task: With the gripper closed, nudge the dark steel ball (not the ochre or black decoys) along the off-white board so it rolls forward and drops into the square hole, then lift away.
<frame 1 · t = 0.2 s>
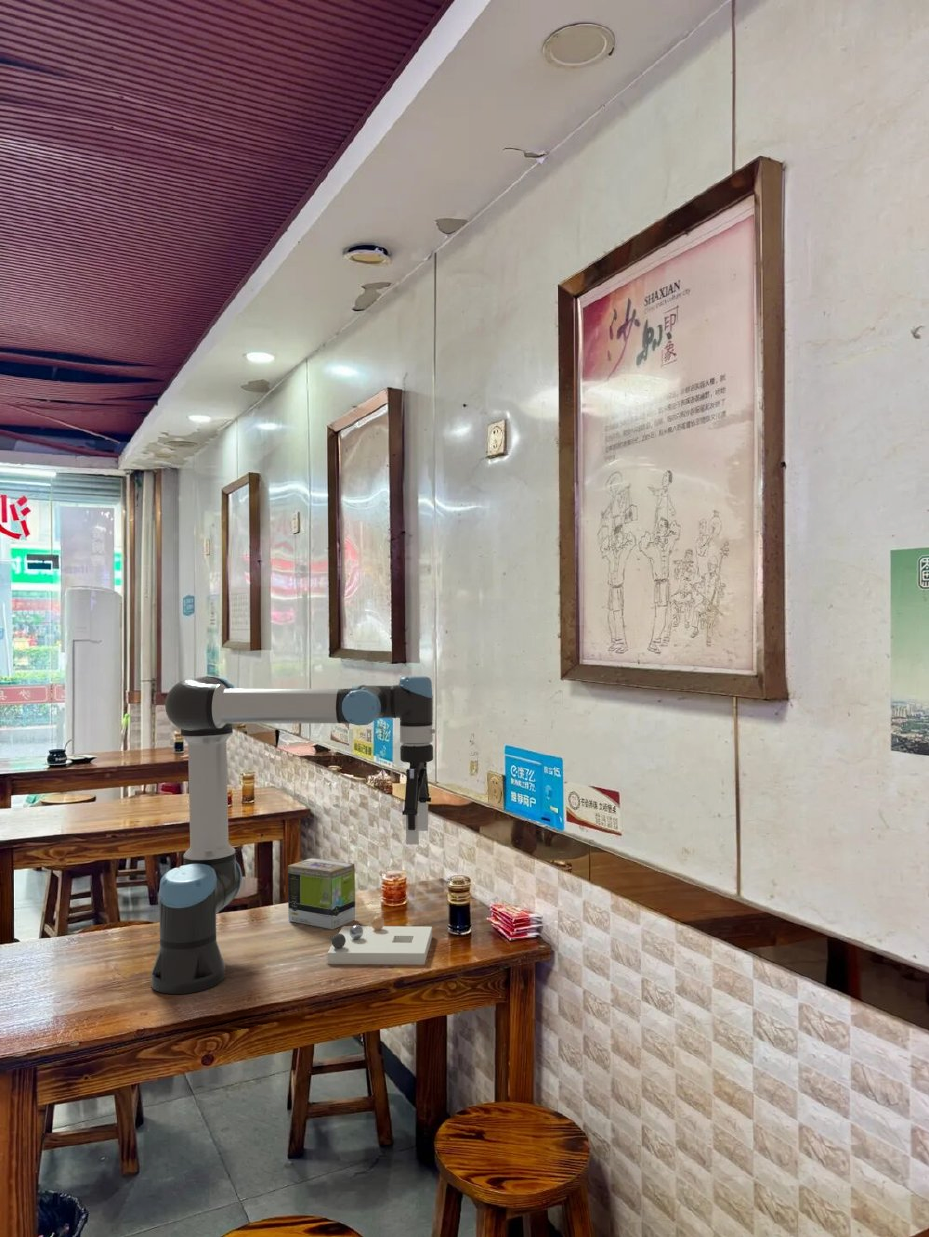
hand: (417, 837, 197), 28 cm above the table, fingers open, 13 cm apart
steel ball: (356, 932, 203), point 4 cm above the table, touching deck
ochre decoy: (377, 923, 209), point 4 cm above the table, touching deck
tea box: (321, 921, 224), on the table
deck: (381, 949, 202), on the table
black decoy: (338, 940, 197), point 4 cm above the table, touching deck
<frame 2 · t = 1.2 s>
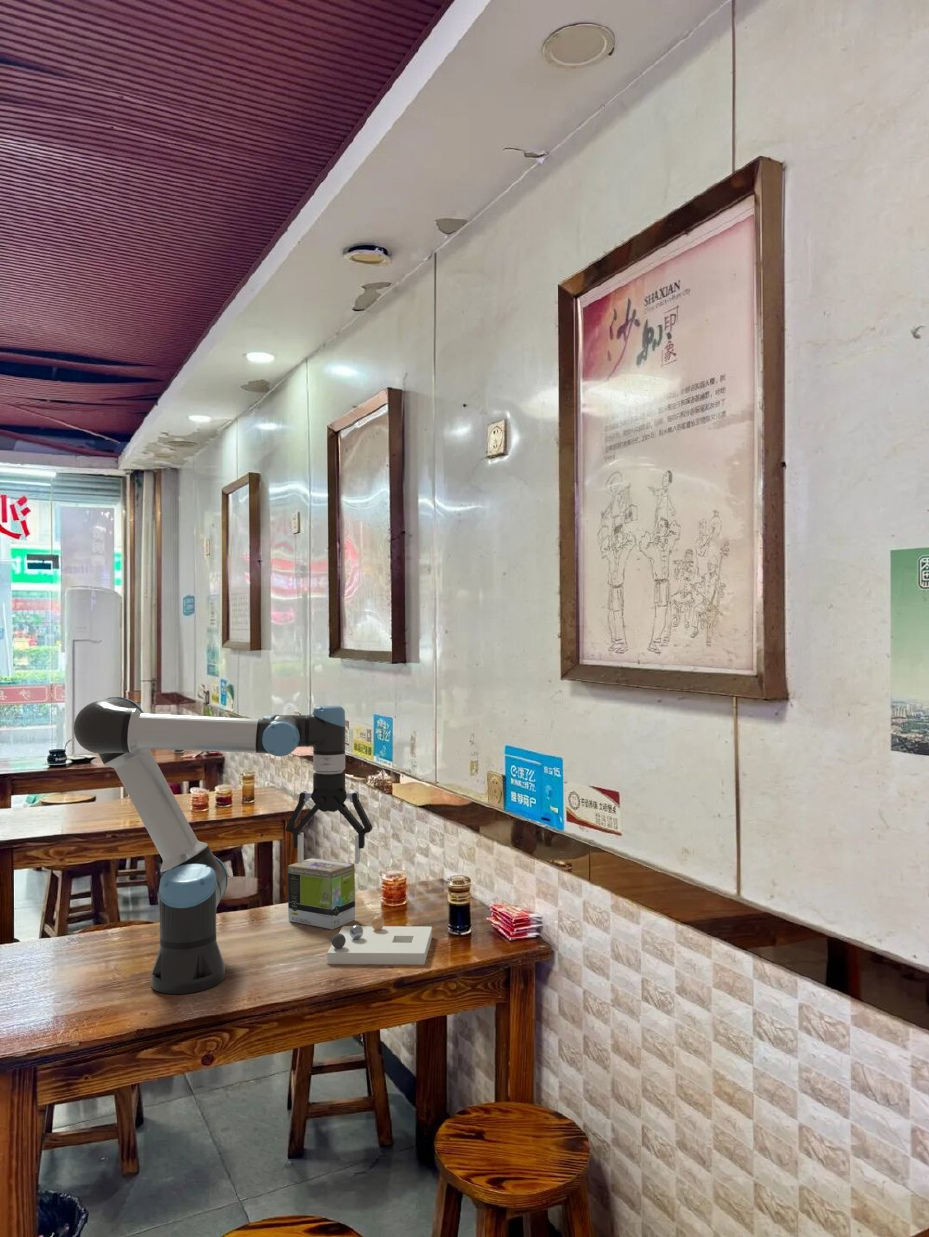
hand: (329, 862, 203), 21 cm above the table, fingers open, 13 cm apart
nothing on the table moved.
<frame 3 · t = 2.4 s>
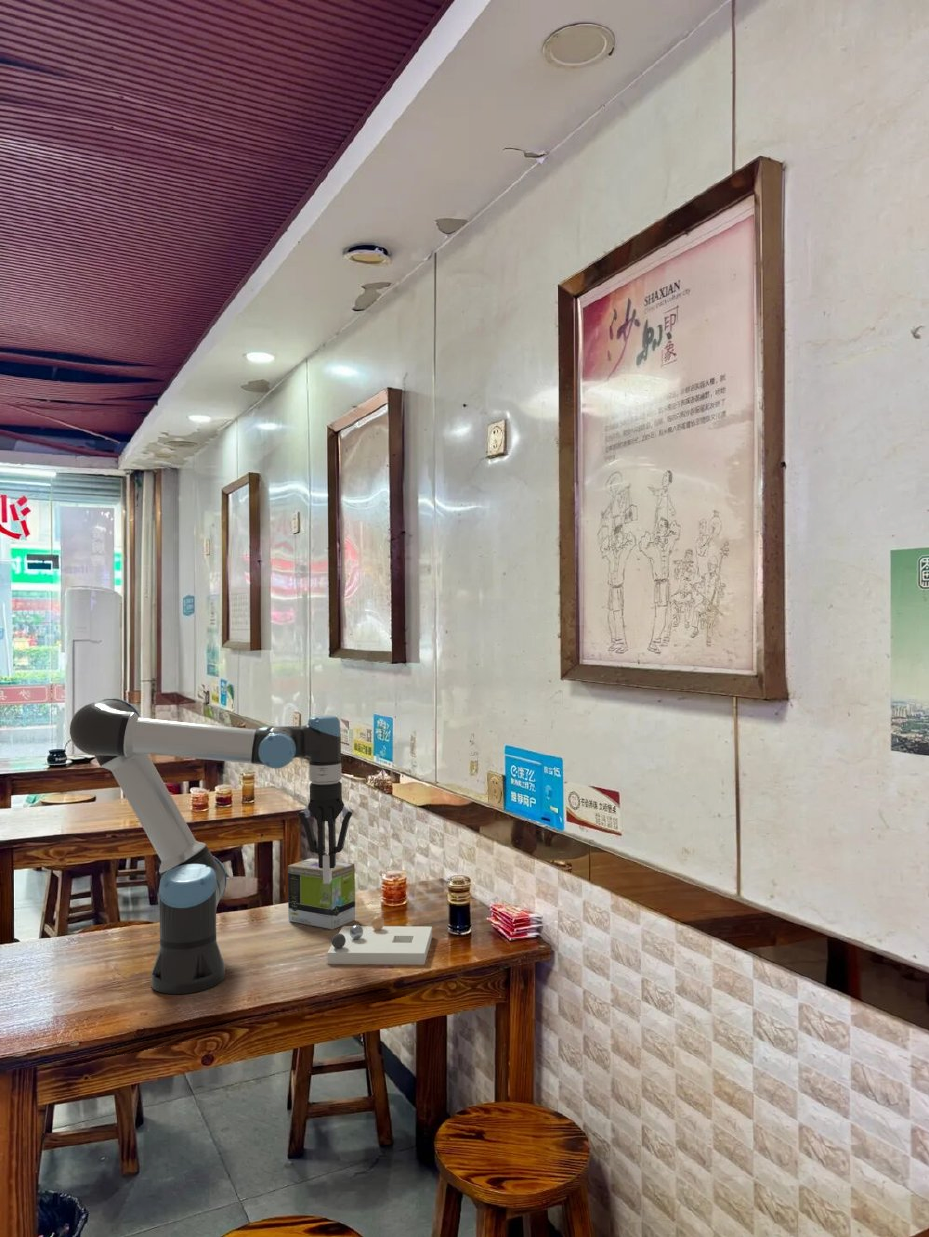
hand: (327, 881, 203), 16 cm above the table, fingers closed
nothing on the table moved.
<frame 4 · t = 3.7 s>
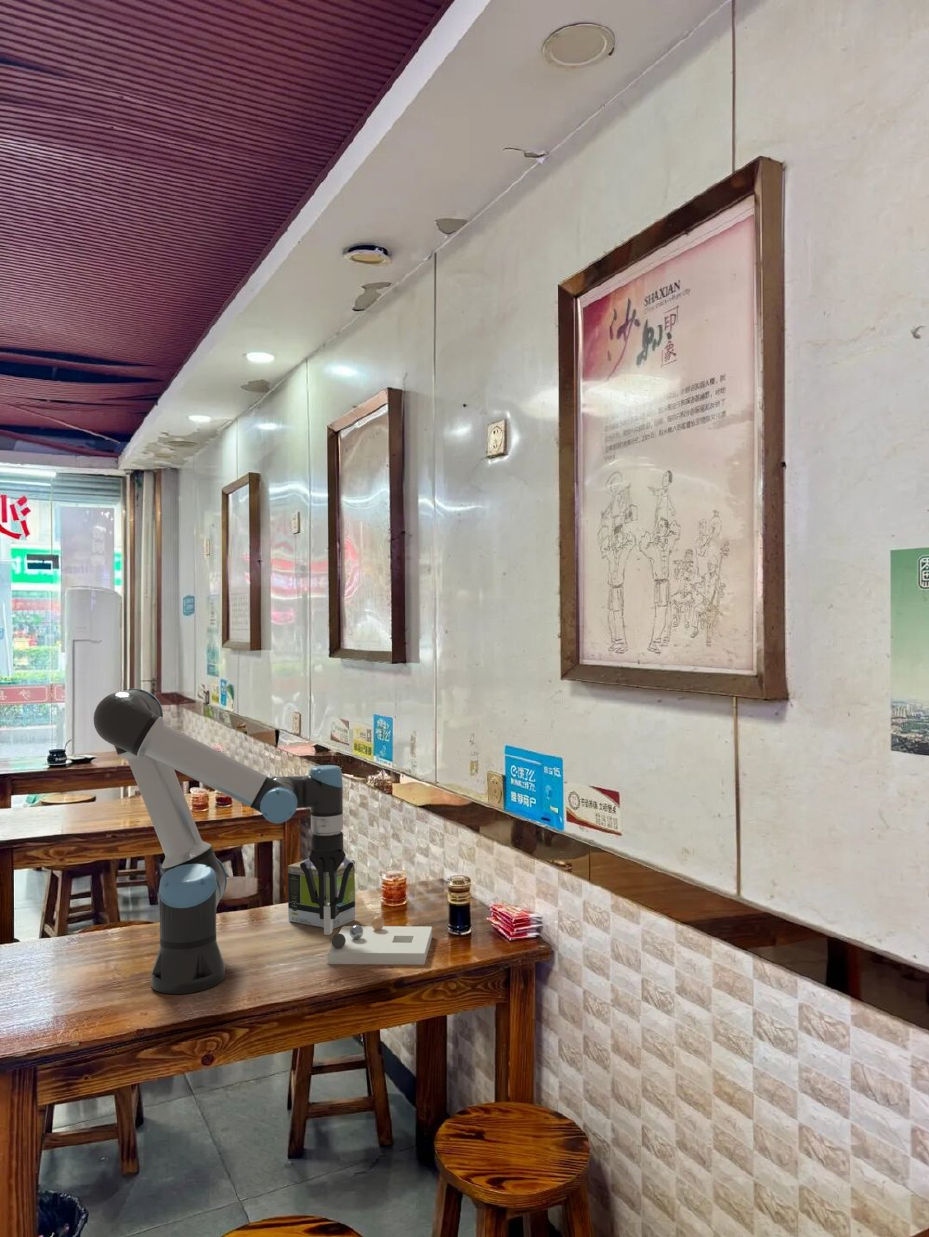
hand: (328, 932, 203), 4 cm above the table, fingers closed
nothing on the table moved.
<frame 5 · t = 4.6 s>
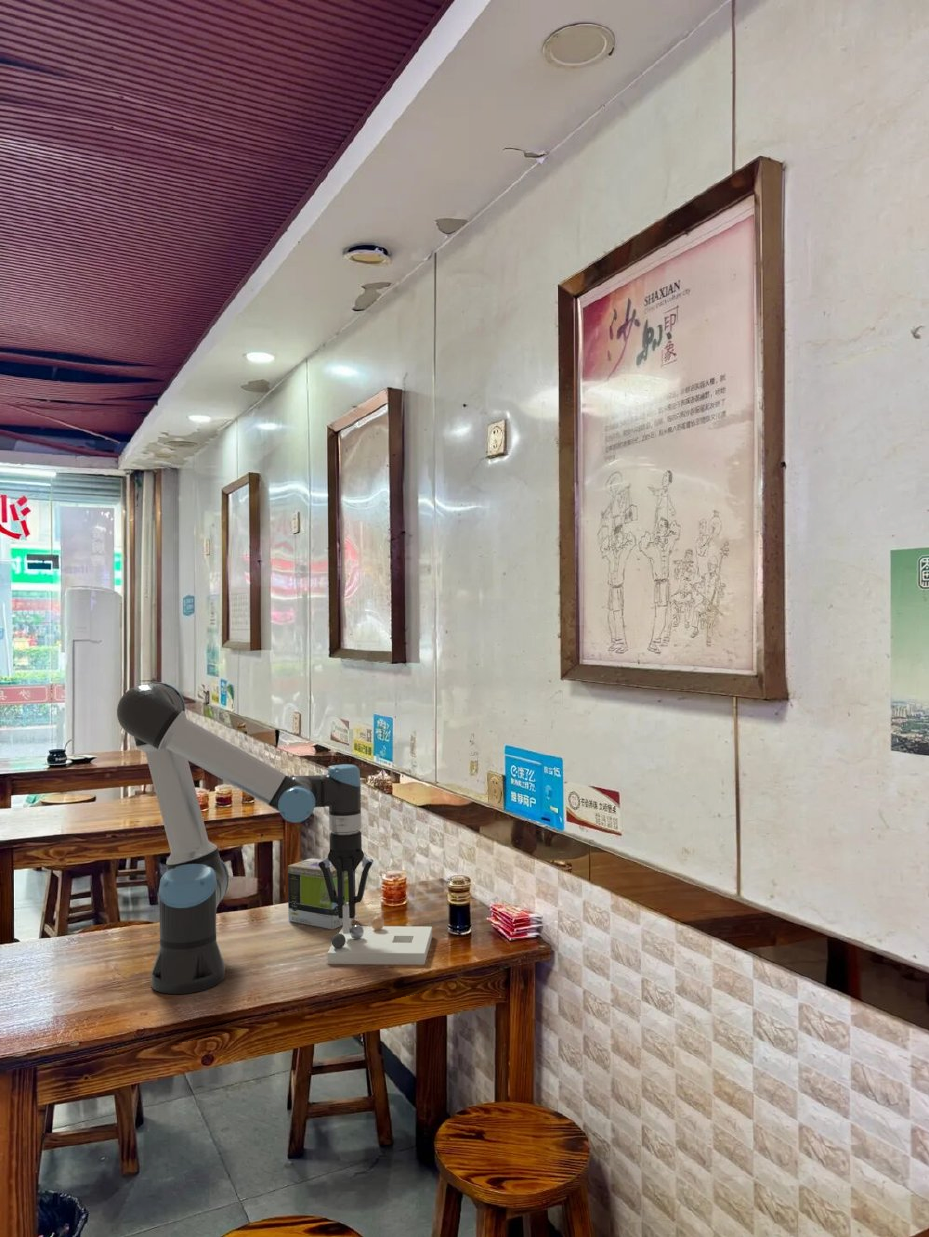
hand: (347, 931, 203), 4 cm above the table, fingers closed
steel ball: (356, 932, 203), point 4 cm above the table, touching gripper
everything else where it was.
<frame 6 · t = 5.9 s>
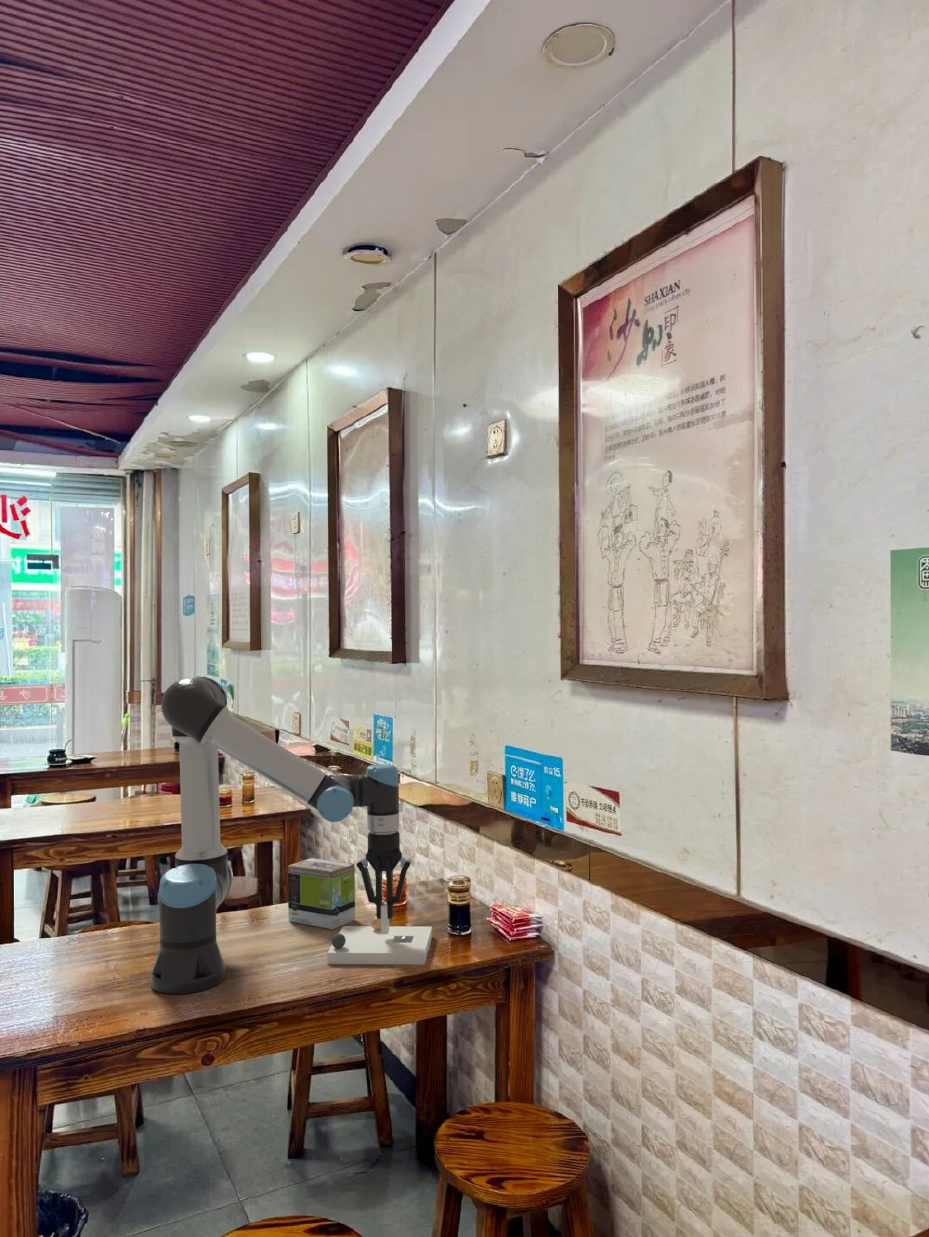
hand: (385, 931, 202), 4 cm above the table, fingers closed
steel ball: (405, 942, 202), point 2 cm above the table, tilted 91°
everything else where it was.
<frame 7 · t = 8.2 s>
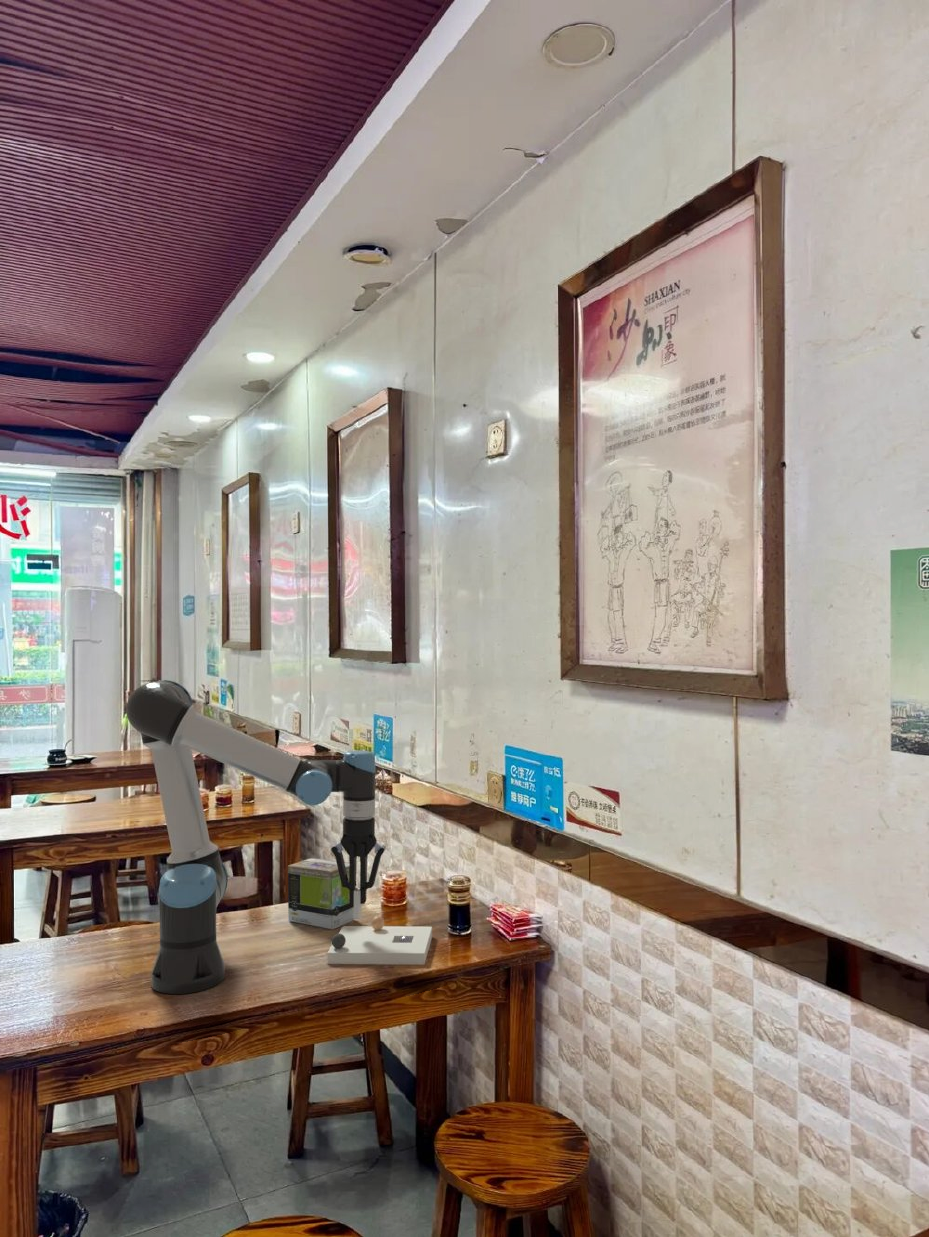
hand: (357, 916, 204), 7 cm above the table, fingers closed
nothing on the table moved.
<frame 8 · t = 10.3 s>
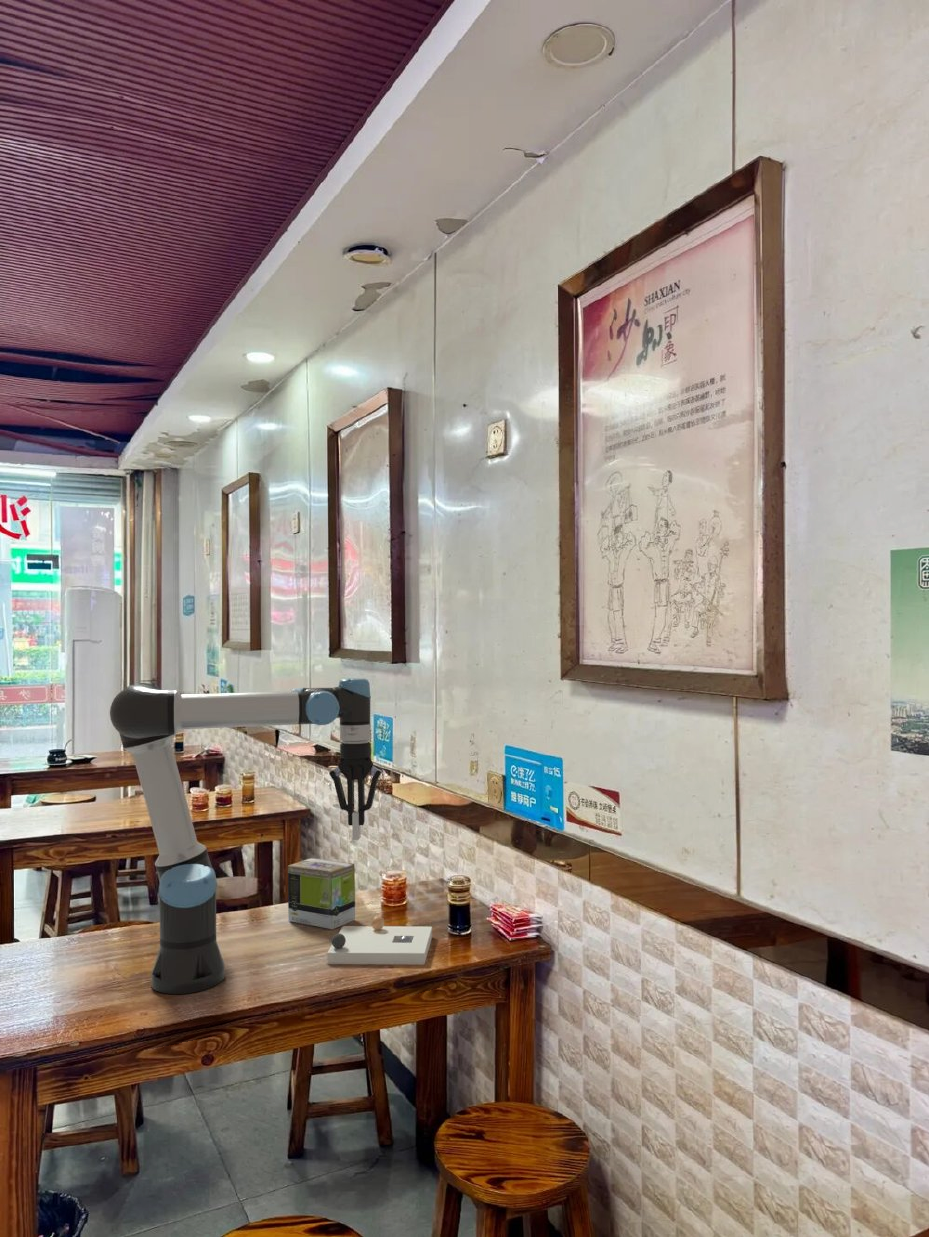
hand: (356, 838, 210), 24 cm above the table, fingers closed
nothing on the table moved.
at the end: steel ball 0.5 cm from the target spot in the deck, point 1.6 cm above the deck's base; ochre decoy moved 0.0 cm from its start; black decoy moved 0.0 cm from its start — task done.
